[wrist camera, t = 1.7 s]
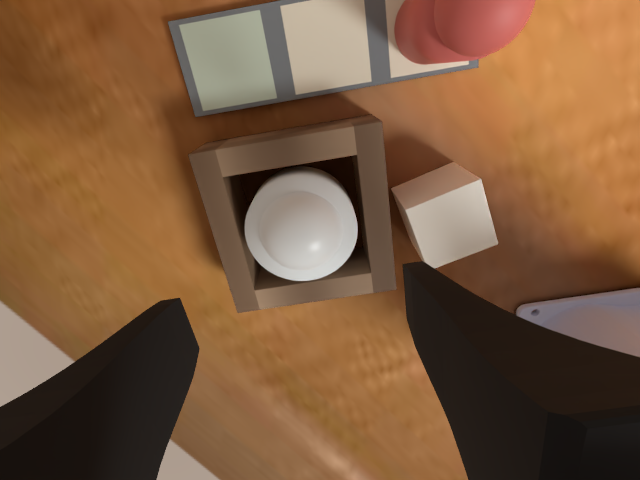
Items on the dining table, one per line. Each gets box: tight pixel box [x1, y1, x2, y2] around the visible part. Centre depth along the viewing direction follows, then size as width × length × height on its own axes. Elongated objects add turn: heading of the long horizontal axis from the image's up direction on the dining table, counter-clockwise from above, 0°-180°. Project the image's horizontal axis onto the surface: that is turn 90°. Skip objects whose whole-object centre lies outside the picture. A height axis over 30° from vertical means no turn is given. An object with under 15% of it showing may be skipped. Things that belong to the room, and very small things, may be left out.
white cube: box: [391, 162, 498, 269], centre depth 18 cm, size 4×4×4 cm
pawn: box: [394, 0, 535, 65], centre depth 13 cm, size 3×3×7 cm
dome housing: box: [188, 114, 397, 313], centre depth 18 cm, size 8×8×3 cm
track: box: [168, 0, 478, 117], centre depth 16 cm, size 14×4×1 cm, turn 99°
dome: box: [245, 166, 358, 281], centre depth 17 cm, size 5×5×4 cm
